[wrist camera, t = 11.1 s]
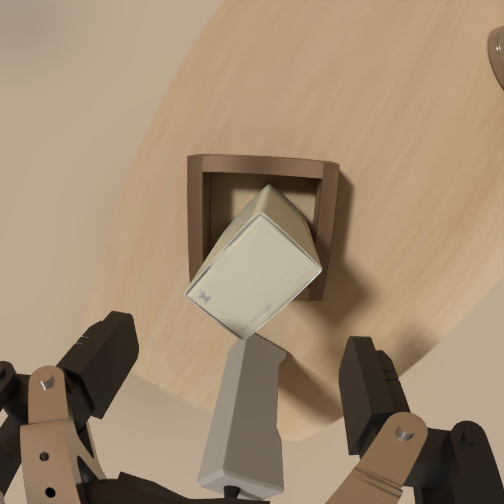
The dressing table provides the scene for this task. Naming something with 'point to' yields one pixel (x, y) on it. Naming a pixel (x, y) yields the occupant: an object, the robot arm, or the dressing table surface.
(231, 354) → the vintage mobile phone
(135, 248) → the dressing table surface
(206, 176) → the walnut holder
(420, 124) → the dressing table surface
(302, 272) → the skincare box
